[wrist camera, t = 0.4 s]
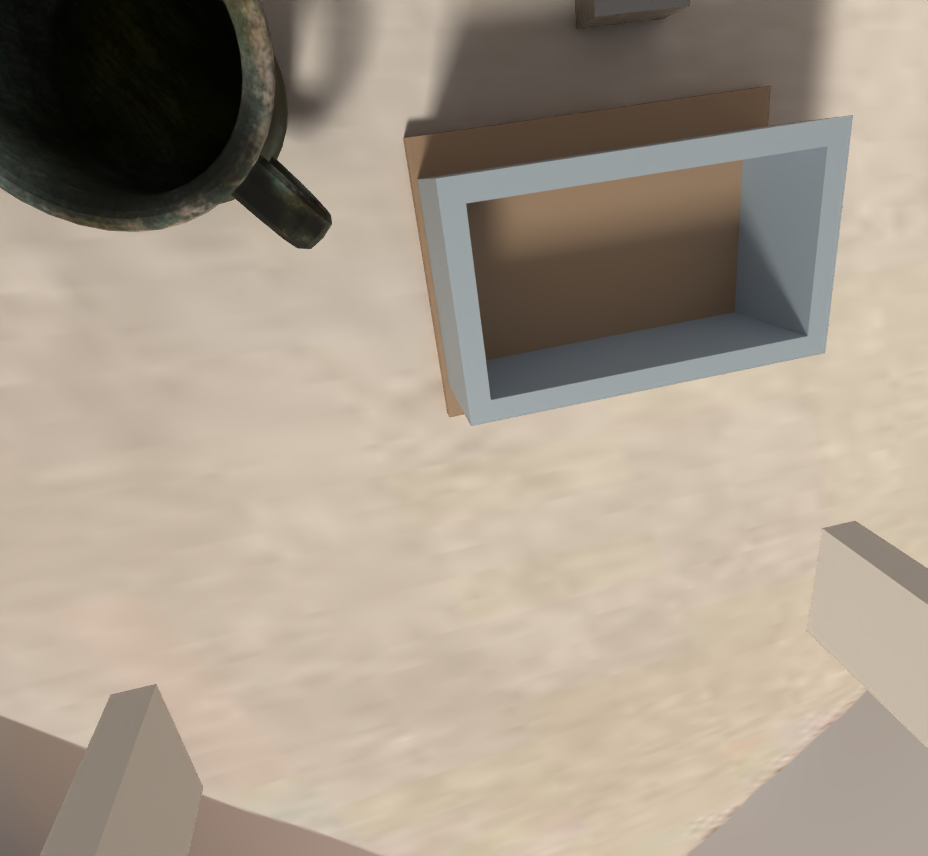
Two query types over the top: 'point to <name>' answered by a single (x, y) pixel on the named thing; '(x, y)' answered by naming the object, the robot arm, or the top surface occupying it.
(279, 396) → the top surface
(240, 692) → the top surface
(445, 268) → the box
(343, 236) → the top surface
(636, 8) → the brushed grey block
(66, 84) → the mug
